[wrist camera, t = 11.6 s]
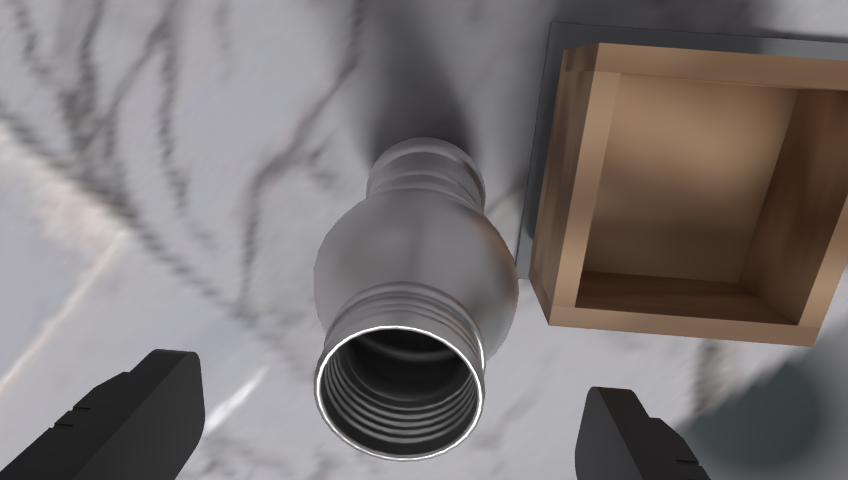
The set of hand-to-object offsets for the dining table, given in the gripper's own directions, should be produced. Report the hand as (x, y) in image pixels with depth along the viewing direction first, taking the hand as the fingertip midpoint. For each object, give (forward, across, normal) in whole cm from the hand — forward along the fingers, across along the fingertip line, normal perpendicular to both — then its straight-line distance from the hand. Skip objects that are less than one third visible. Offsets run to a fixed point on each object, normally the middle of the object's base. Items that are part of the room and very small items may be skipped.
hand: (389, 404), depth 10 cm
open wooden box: (+20, -12, -2) cm, 24 cm away
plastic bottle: (+20, 0, 0) cm, 21 cm away
